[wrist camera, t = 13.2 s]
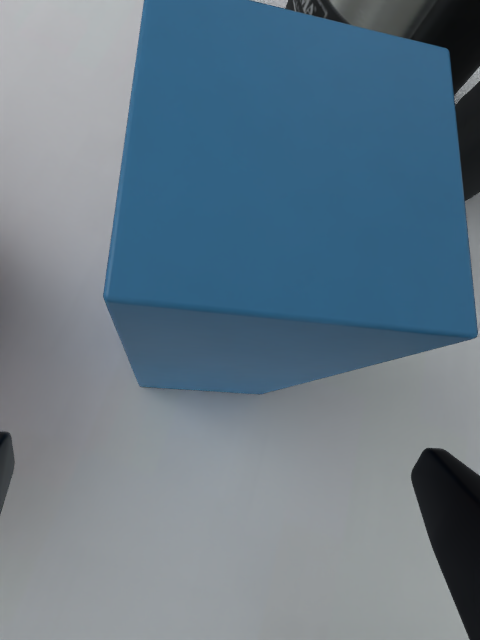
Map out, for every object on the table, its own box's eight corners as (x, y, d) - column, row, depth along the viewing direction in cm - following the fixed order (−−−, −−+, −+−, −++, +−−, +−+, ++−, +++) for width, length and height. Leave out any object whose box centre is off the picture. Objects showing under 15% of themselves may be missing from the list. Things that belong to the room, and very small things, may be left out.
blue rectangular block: (261, 394, 17) (481, 338, 6) (138, 386, 16) (101, 299, 5) (265, 281, 18) (451, 46, 7) (151, 267, 17) (146, -28, 6)
